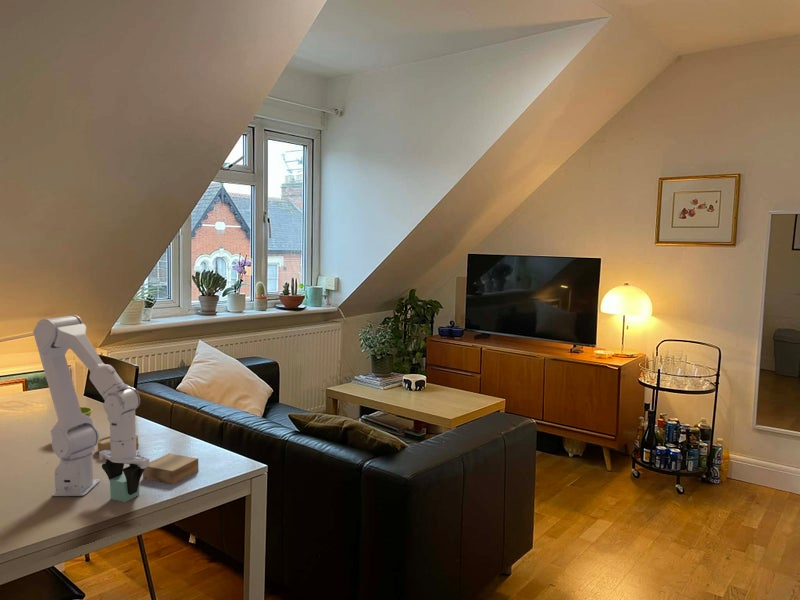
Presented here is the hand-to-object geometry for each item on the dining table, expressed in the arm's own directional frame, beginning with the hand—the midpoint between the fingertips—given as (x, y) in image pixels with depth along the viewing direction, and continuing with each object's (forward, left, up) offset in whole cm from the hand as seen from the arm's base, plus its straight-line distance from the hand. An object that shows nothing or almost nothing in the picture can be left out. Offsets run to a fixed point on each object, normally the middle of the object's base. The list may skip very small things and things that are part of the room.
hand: (125, 491), depth 153 cm
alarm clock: (+33, +14, -2) cm, 36 cm away
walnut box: (+14, -7, -2) cm, 16 cm away
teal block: (0, 0, -2) cm, 2 cm away
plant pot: (+46, +32, -2) cm, 56 cm away
